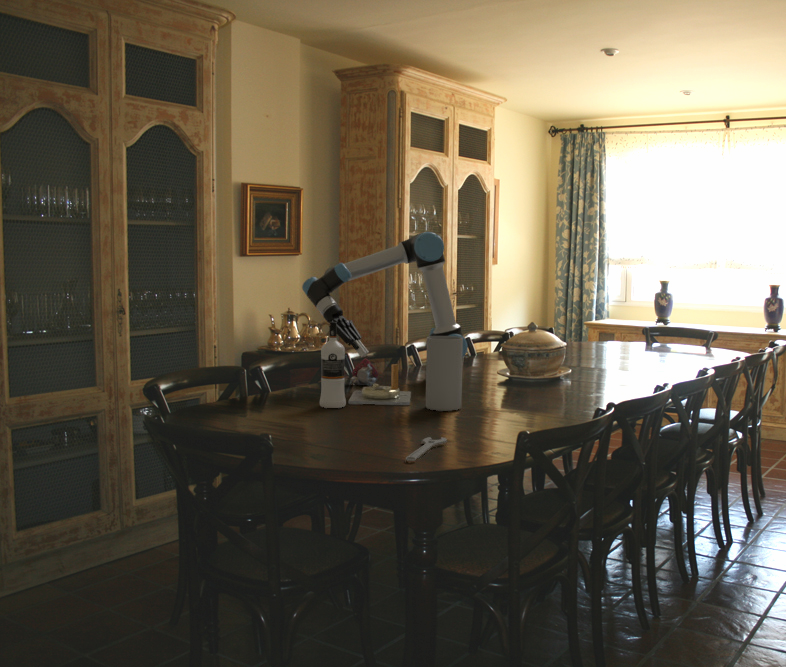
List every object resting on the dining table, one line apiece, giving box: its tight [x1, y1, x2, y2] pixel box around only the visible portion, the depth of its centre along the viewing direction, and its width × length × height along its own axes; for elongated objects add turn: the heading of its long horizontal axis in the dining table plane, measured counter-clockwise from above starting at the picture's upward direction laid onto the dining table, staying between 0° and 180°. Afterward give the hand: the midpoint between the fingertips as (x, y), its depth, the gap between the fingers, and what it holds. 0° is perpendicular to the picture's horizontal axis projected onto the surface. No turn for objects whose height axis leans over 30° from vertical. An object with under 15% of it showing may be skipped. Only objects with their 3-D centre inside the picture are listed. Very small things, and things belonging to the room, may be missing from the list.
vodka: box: [319, 322, 347, 409], centre depth 257 cm, size 9×9×30 cm
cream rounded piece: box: [361, 363, 401, 399], centre depth 273 cm, size 14×14×11 cm
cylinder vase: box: [425, 335, 463, 412], centre depth 257 cm, size 12×12×25 cm
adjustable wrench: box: [405, 436, 448, 461], centre depth 199 cm, size 25×6×2 cm, turn 154°
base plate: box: [347, 389, 412, 406], centre depth 274 cm, size 22×22×1 cm
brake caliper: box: [350, 358, 379, 387], centre depth 304 cm, size 11×11×12 cm
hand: (365, 354), depth 283 cm, fingers closed
